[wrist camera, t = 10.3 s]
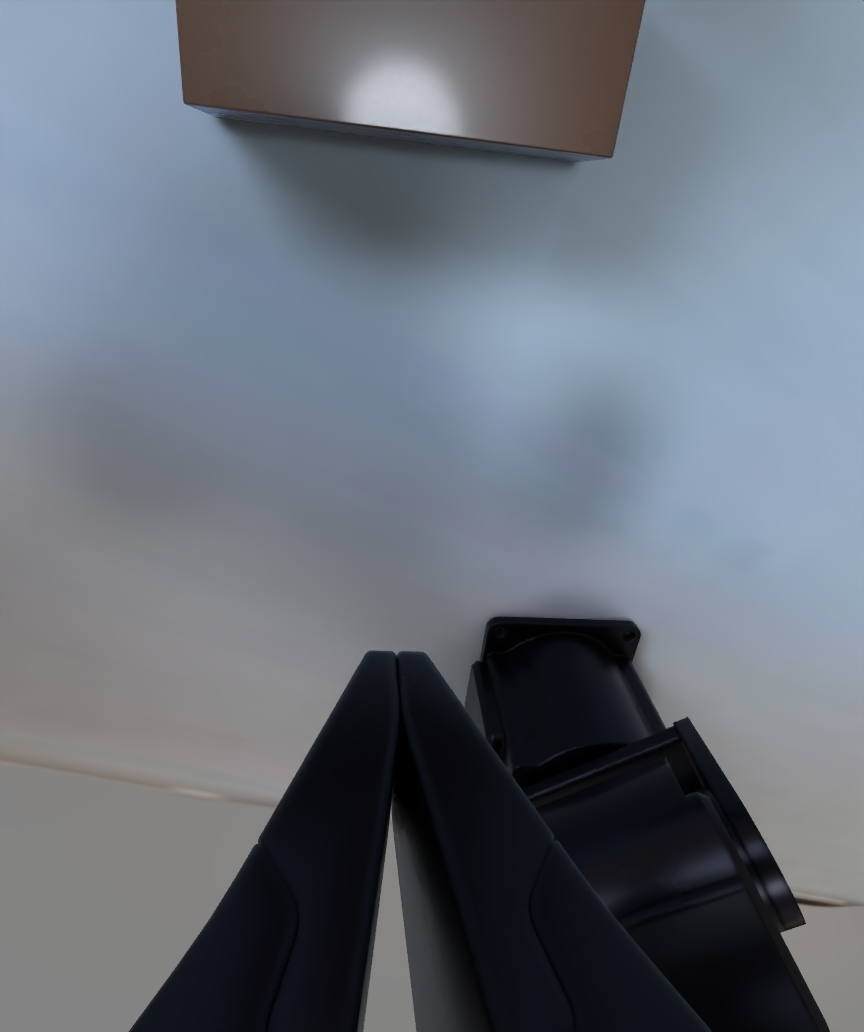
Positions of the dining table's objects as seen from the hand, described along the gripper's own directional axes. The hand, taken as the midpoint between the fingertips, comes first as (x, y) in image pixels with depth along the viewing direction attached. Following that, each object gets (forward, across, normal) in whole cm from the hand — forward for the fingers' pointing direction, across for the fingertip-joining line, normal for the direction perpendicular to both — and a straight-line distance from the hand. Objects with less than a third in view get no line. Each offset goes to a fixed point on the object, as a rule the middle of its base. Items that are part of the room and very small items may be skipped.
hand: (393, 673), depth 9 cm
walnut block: (+13, 0, -9) cm, 16 cm away
